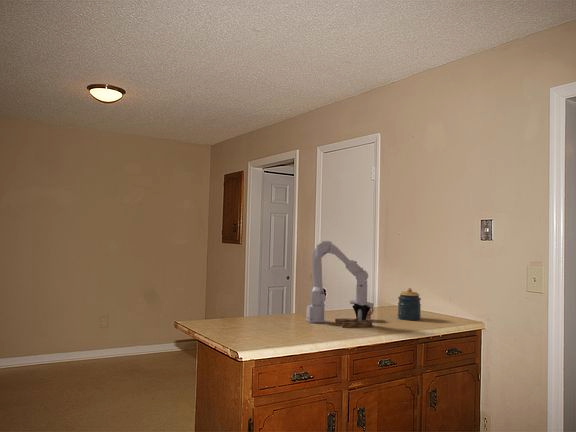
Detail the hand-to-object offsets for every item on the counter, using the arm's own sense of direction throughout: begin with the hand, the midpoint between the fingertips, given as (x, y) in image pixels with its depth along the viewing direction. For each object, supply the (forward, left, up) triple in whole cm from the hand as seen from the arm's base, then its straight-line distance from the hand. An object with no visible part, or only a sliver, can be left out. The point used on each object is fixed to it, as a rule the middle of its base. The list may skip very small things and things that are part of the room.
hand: (361, 319), depth 257 cm
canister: (+37, +17, -3) cm, 41 cm away
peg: (0, 0, -2) cm, 2 cm away
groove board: (-4, +1, -3) cm, 5 cm away
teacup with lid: (+9, +16, -3) cm, 19 cm away
